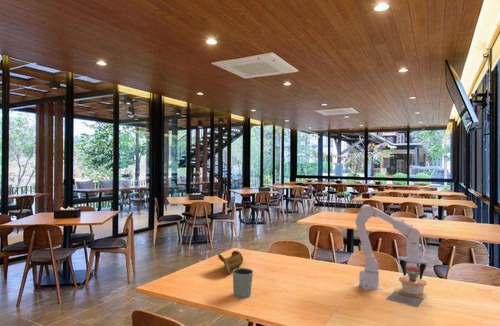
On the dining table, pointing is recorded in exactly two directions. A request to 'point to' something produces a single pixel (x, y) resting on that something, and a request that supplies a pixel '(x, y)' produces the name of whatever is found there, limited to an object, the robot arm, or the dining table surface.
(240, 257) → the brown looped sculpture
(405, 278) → the lid
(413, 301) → the mat
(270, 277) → the dining table surface
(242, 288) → the grey cup
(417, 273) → the cupcake
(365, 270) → the robot arm
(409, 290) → the ramekin
